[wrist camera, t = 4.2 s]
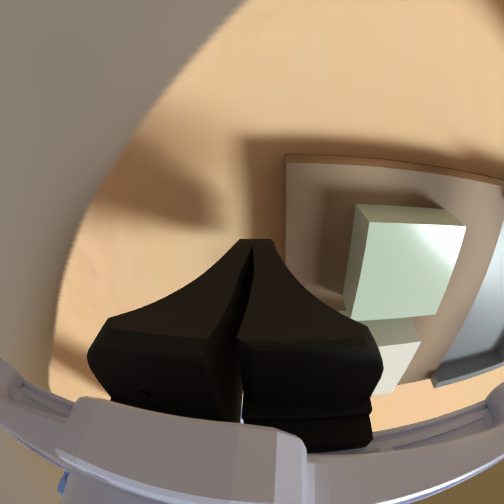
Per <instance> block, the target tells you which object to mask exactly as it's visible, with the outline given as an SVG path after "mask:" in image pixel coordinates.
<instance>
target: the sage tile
mask: <svg viewBox="0 0 504 504" xmlns="http://www.w3.org/2000/svg"><path fill="white" fill-rule="evenodd" d="M465 229H466V226H465V225H464V224H462V223H461V222H460V221H459V220H458V219H456V218H455V217H454V216H453V215H451V214H450V213H449V212H448V211H446V210H445V209H434V208H422V207H407V206H391V205H371V204H355V213H354V222H353V230H352V238H351V245H350V252H349V258H348V265H347V271H346V277H345V283H344V288H343V294H342V296H343V300H344V303H345V306H346V310H347V313H348V317H349V318H351V319H353V320H355V321H367V320H381V319H394V318H405V317H416V316H425V315H434V314H436V312H437V310H438V308H439V305H440V303H441V301H442V298H443V296H444V293H445V291H446V288H447V285H448V283H449V280H450V277H451V275H452V272H453V269H454V266H455V263H456V260H457V257H458V254H459V250H460V247H461V244H462V240H463V237H464V233H465Z"/></svg>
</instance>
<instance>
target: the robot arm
mask: <svg viewBox="0 0 504 504" xmlns="http://www.w3.org/2000/svg"><path fill="white" fill-rule="evenodd" d="M87 360H88V364H89V367H90V369H91V370H92V372H93V374H94V375H95V377H96V378H97V380H98V381H99V382H100V384H101V385H102V386H103V388H104V389H105V390H106V392H107V393H108V394H109V395H110V397H111V400H110V401H109V400H106V399H101V398H94V397H88V396H85V397H80V398H79V399H78V400H77V401H76V402H73V401H70V400H68V399H65V398H63V397H60V396H58V395H56V394H53V393H51V392H49V391H47V390H44V389H42V388H40V387H38V386H36V385H34V384H32V383H30V382H28V381H26V380H24V377H23V376H22V375H21V373H20V372H19V371H18V370H17V369H16V368H15V367H14V366H13V365H11V364H10V363H8V362H6V361H4V360H3V359H1V358H0V427H1V428H3V429H4V430H5V431H6V432H7V433H9V434H10V435H11V436H12V437H14V438H15V439H17V440H18V441H19V442H20V443H22V444H23V445H25V446H26V447H27V448H29V449H30V450H32V451H33V452H35V453H36V454H38V455H39V456H41V457H43V458H44V459H46V460H47V461H49V462H51V463H52V464H54V465H56V466H58V467H59V468H61V469H63V470H64V471H66V472H68V473H70V474H69V477H68V480H67V483H66V486H65V489H64V492H63V496H62V499H61V502H60V504H410V503H413V502H415V501H418V500H421V499H424V498H426V497H429V496H432V495H434V494H437V493H439V492H441V491H443V490H446V489H448V488H450V487H453V486H455V485H457V484H459V483H461V482H463V481H465V480H467V479H469V478H471V477H473V476H475V475H477V474H478V473H480V472H482V471H484V470H485V469H487V468H489V467H491V466H492V465H494V464H496V463H497V462H499V461H500V460H502V459H503V458H504V382H503V383H501V384H499V385H498V386H497V387H496V388H494V389H493V390H492V391H491V393H490V394H489V395H488V396H487V397H486V399H485V400H483V401H481V402H478V403H476V404H473V405H471V406H468V407H466V408H463V409H460V410H457V411H454V412H451V413H448V414H445V415H442V416H439V417H436V418H432V419H429V420H425V421H422V422H418V423H414V424H410V425H406V426H401V427H397V428H392V429H387V430H382V431H377V432H372V428H371V422H370V417H369V414H370V413H371V412H372V406H371V401H370V397H371V395H372V393H373V392H374V390H375V388H376V386H377V384H378V382H379V381H380V379H381V376H382V373H383V370H384V366H383V360H382V357H381V354H380V351H379V348H378V346H377V344H376V342H375V339H374V337H373V336H372V334H371V332H370V330H369V328H368V326H366V325H364V324H362V323H359V322H357V321H355V320H353V319H351V318H349V317H347V316H345V315H343V314H341V313H339V312H338V311H336V310H334V309H333V308H331V307H329V306H328V305H326V304H325V303H323V302H322V301H321V300H319V299H318V298H317V297H315V296H314V295H313V294H311V293H310V292H309V291H308V290H307V289H306V288H305V287H304V286H303V285H302V284H301V283H300V282H299V281H298V280H297V279H296V278H295V276H294V275H293V274H292V273H291V271H290V270H289V269H288V268H287V266H286V265H285V263H284V262H283V260H282V259H281V257H280V255H279V254H278V252H277V250H276V248H275V245H274V242H273V241H272V240H271V239H239V240H238V241H237V242H236V243H235V244H234V245H233V246H232V248H231V249H230V250H229V251H228V252H227V253H226V254H225V255H224V256H223V257H222V258H221V259H220V260H219V261H218V262H216V263H215V264H214V265H213V266H212V267H211V268H209V269H208V270H207V271H206V272H205V273H203V274H202V275H201V276H199V277H198V278H197V279H195V280H194V281H192V282H191V283H189V284H188V285H186V286H185V287H183V288H181V289H179V290H178V291H176V292H174V293H172V294H170V295H168V296H167V297H165V298H163V299H160V300H158V301H156V302H154V303H151V304H149V305H147V306H144V307H142V308H139V309H136V310H133V311H130V312H127V313H124V314H120V315H117V316H114V317H110V318H108V319H107V321H106V322H105V324H104V325H103V327H102V329H101V330H100V332H99V333H98V335H97V337H96V338H95V340H94V342H93V343H92V345H91V347H90V348H89V350H88V353H87ZM242 394H244V395H243V401H242Z"/></svg>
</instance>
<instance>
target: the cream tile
mask: <svg viewBox="0 0 504 504" xmlns="http://www.w3.org/2000/svg"><path fill="white" fill-rule="evenodd" d="M338 312H339V313H341V314H343V315H345V316H347V317H348V313H347V311H338ZM357 322H359V323H362V324H364V325H366V326H368V328H369V330H370V332H371V334H372V336H373V337H374V339H375V342H376V344H377V346H378V348H379V351H380V354H381V357H382V360H383V366H384V370H383V373H382V376H381V379H380V381H379V382H378V384H377V386H376V388H375V390H374V392H373V393H372V395H379V394H385V393H392V392H393V390H394V389H395V387H396V385H397V384H398V382H399V381H400V379H401V377H402V376H403V374H404V372H405V370H406V369H407V367H408V365H409V363H410V362H411V360H412V358H413V356H414V354H415V353H416V351H417V349H418V347H419V345H420V343H421V339H420V337H419V335H418V333H417V331H416V329H415V327H414V325H413V322H412V320H411V318H410V317H405V318H394V319H381V320H367V321H357ZM372 395H371V396H372Z"/></svg>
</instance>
